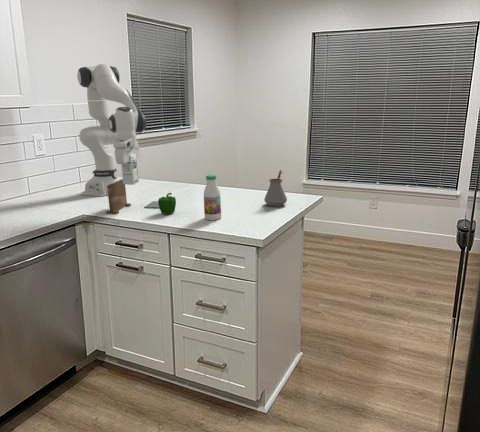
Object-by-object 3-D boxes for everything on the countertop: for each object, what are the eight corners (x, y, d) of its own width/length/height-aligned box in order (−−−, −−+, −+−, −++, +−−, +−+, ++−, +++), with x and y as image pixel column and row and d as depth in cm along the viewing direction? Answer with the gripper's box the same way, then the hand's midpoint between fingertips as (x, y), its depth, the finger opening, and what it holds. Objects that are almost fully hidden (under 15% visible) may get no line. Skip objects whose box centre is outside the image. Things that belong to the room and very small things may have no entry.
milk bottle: (204, 216, 212) (202, 174, 207) (221, 215, 212) (219, 173, 207) (204, 221, 205) (202, 177, 199) (221, 220, 205) (220, 176, 200)
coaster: (144, 208, 230) (144, 206, 230) (153, 202, 242) (153, 201, 242) (166, 208, 228) (166, 207, 228) (174, 202, 239) (174, 201, 239)
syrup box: (134, 184, 221) (131, 155, 217) (122, 184, 222) (119, 154, 218) (138, 182, 226) (136, 153, 222) (127, 182, 227) (125, 153, 223)
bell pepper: (160, 216, 214) (158, 196, 211) (158, 212, 222) (156, 192, 219) (178, 214, 216) (176, 194, 213) (175, 210, 224) (174, 190, 221)
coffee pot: (284, 208, 222) (284, 178, 218) (262, 207, 225) (261, 177, 221) (291, 198, 242) (291, 170, 238) (270, 197, 245) (270, 169, 241)
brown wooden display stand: (105, 213, 222) (102, 185, 218) (120, 205, 237) (117, 179, 233) (117, 213, 221) (114, 185, 217) (131, 205, 236) (128, 179, 232)
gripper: (130, 139, 229) (132, 166, 233) (111, 144, 209) (114, 173, 213) (141, 139, 227) (144, 166, 231) (124, 144, 208) (126, 174, 212)
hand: (129, 170), depth 222 cm, fingers closed on syrup box, 6 cm apart
